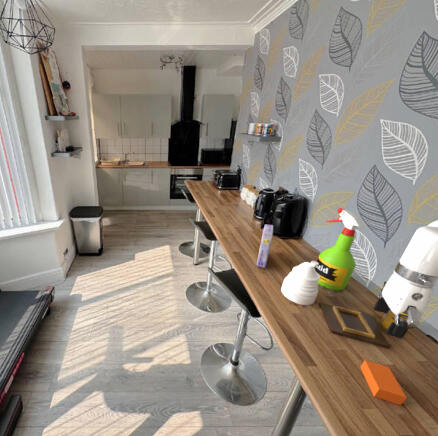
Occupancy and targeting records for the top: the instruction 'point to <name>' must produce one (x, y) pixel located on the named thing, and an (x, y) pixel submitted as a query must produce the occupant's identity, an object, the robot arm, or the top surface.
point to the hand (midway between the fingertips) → (386, 322)
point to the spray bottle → (339, 254)
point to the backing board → (353, 325)
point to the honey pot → (302, 284)
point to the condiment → (390, 319)
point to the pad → (382, 382)
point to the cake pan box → (265, 246)
